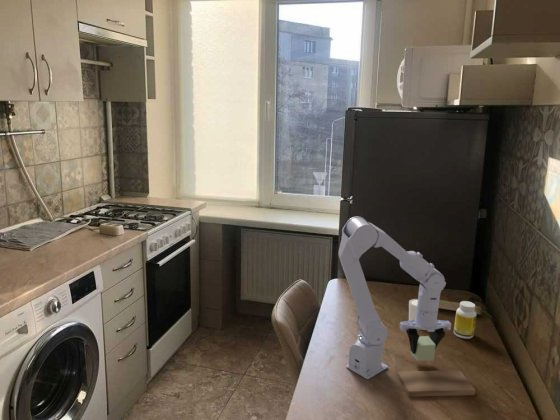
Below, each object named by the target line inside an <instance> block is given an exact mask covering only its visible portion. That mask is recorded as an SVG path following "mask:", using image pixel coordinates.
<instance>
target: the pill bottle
mask: <svg viewBox="0 0 560 420" xmlns="http://www.w3.org/2000/svg"><path fill="white" fill-rule="evenodd" d="M454 318H455V319H454V326H453V334H454V335H455V336H456V337H458V338H461V339H465V340H466V339H467V340H469V339H472V338H473V337H474V335H475V328H476V321H477V311H476V304H475V303H473V302H471V301H467V300H462V301H460V302H459V307H458V308H457V309H456V312H455V317H454Z"/></svg>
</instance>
